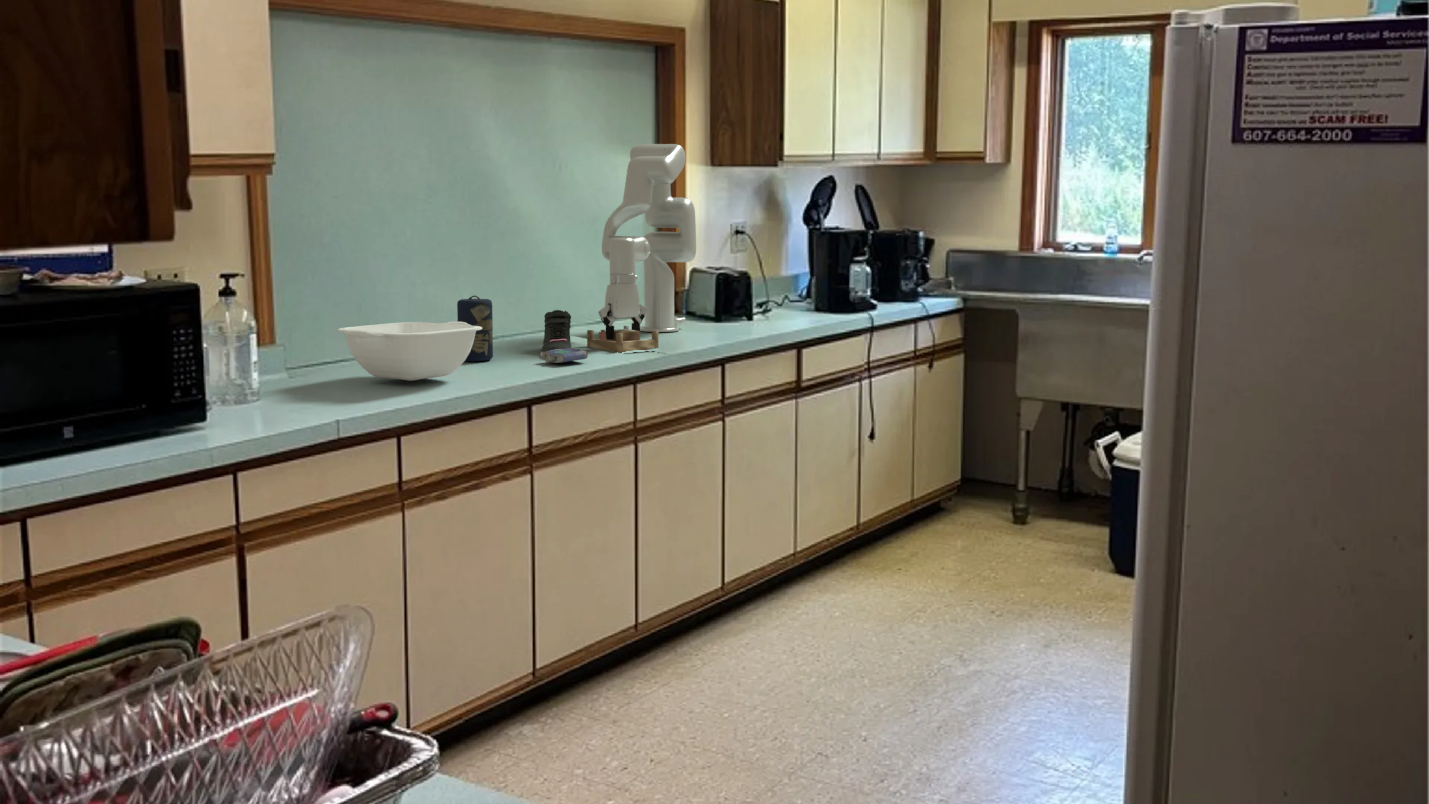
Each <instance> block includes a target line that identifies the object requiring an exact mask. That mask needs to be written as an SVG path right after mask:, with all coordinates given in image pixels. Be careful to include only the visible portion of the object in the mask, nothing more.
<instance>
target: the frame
mask: <svg viewBox="0 0 1429 804" xmlns="http://www.w3.org/2000/svg"><path fill="white" fill-rule="evenodd" d="M659 333H660V332H659V331H656V330H654V331H652V332H651V339H649V338H648V339H640V340H636V341H623V333H616V341H609V340H600V339H599V338H595V329H587V330H586V334H587V335H586V337H587V338H586V344H587V345H586V346H587V348H594V349H597V350H604V351H608V350H609V352H612V351H614V352H613V353H617V352H618V353H617V354H621V353H622V352H626V351H633V350H646V349H649V350H652V349H659V347H660V346H659V340H660V339H659Z"/></svg>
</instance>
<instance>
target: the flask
mask: <svg viewBox="0 0 1429 804" xmlns="http://www.w3.org/2000/svg"><path fill="white" fill-rule="evenodd" d="M571 348H572V347H571ZM571 348H566V349H559V350H552V351H545V352H543V353H542V357H541V358H542V359H543V360H545V362H546V363H547V364H549V363H552V364H560V363H567V362H568V363H569V362H573V361H579V360H586V359H587V358H588V357H589V354H588V351H587V350H585V349H579V348H577V349H575V348H574V349H573V348H572V349H571Z"/></svg>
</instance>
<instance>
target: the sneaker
mask: <svg viewBox="0 0 1429 804" xmlns="http://www.w3.org/2000/svg"><path fill="white" fill-rule="evenodd" d="M543 322H544V333H543V337H544V338H543V344H542V347H541V352H540V357H541V358H543V357H542V353H543V352H545V351H552V350H559V349H566V348H571V349H573V348H572V343H571V335H570V334H571V331H570V330H571V322H572V316H571V314H570V313H569V312H568V311H566V310H564V311H563V310H560V309H555V310H552V311H548V312H546V313H545V314H544V321H543Z"/></svg>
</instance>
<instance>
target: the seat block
mask: <svg viewBox="0 0 1429 804" xmlns="http://www.w3.org/2000/svg"><path fill="white" fill-rule="evenodd" d="M616 333H623V341H636V340H641V339H640V338H641V331H636V330H632V329H629V330H628V329H624V328H621V329H620V328H619V329H614V339H607V340H609V341H616Z"/></svg>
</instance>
